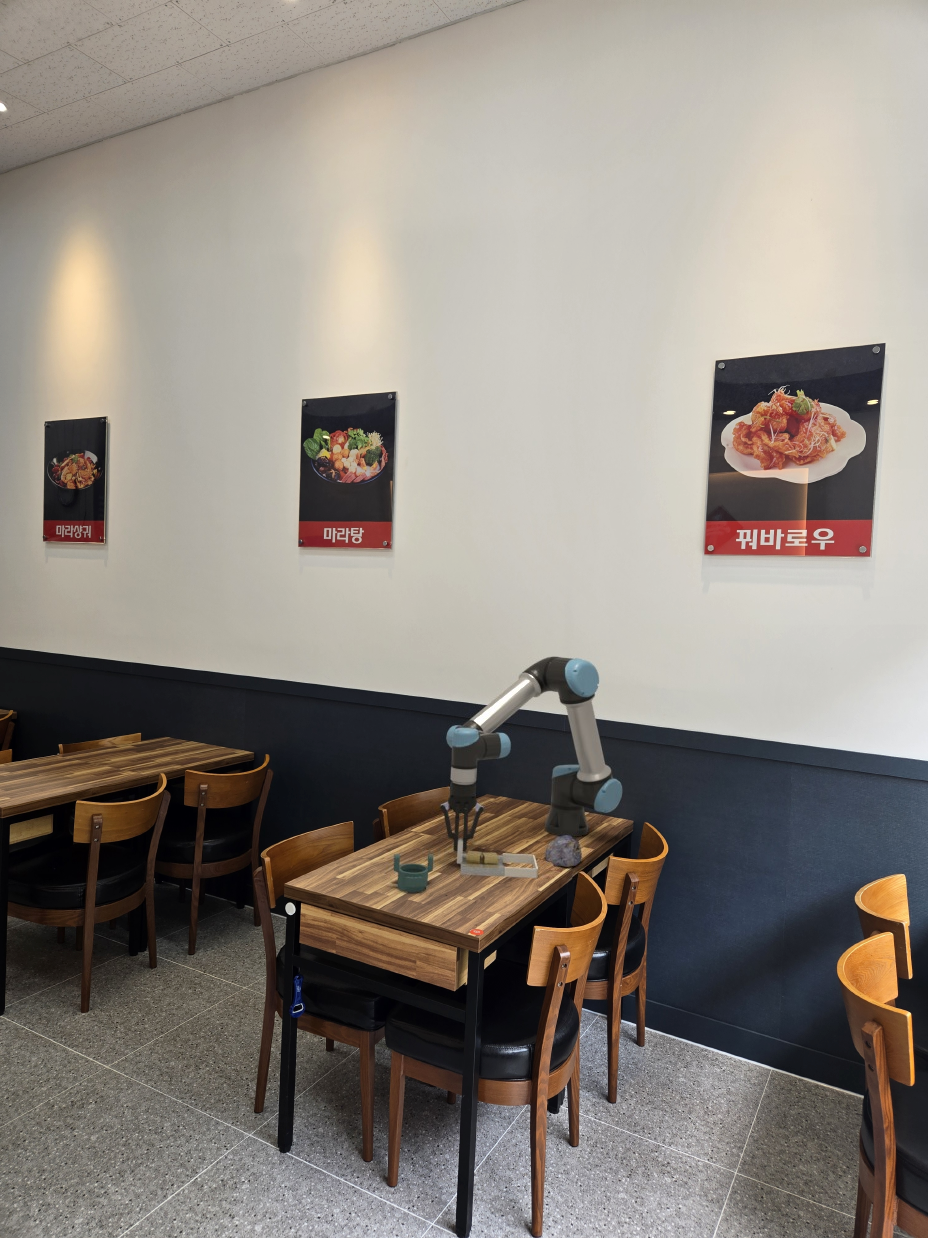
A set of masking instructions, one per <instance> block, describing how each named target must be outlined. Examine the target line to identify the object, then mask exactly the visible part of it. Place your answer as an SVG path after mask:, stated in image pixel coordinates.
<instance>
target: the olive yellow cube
mask: <svg viewBox="0 0 928 1238" xmlns="http://www.w3.org/2000/svg"><path fill="white" fill-rule="evenodd" d="M466 853H467V855H466V864H482V853H483V851H476V850H475V851H474V850H468V851H467V852H466Z"/></svg>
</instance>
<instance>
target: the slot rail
mask: <svg viewBox="0 0 928 1238" xmlns="http://www.w3.org/2000/svg"><path fill="white" fill-rule="evenodd" d="M467 853H468V852H465V853H464V852H463V854H462V864H460V875H462V876H463V875H468V876H487V877H488V876H489V877H504V874H505V867H506V866H505V865H504V862H503V854H497V856H498V865H482V864H466V855H467Z"/></svg>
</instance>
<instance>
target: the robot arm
mask: <svg viewBox="0 0 928 1238" xmlns="http://www.w3.org/2000/svg"><path fill="white" fill-rule="evenodd" d="M599 676H600V675H599V672H598V669H597V668H596V667H595V664H593V663H592V662H590V661H588V660H586V659H581V658H578V657H576V658H571V657H570V658H569V657H561V656H549V657H545V658H543V659H540V660H538V661H536V662H535V663H534V664H531V665H530V666H529V667H527V668H526V669H525V670H524V671H522V672H521V673H519V676H518V679H517V680H516V681H515V682H514V683H512V684H511V685H510V686H508V688H507V689H505V690H504V691H503V692H501V694H499V695H498V696H496V697H495V698H494V699H493V700H491V701H490V703H489V704H487V705H486V706H485V707H483V708H482V709H481V710H479V712H477V713H476V714H475V715H473V717H471V718H470V719H469V720H467V721H466V722H464V724H463V725H461V724H459V725H452V726H451V727H450V728H449V729H448V731H447V733H446V738H445V739H446V742H447V745H448V746H449V747H450V748H451V765H450V766H451V767H450V780H451V782H450V785H449V786H450V788H449V797H448V799H447V801H446V802H444V803H443V802H442V803H441V804H440V809H441V811H442V813H443V817H444V821H445V828H446V831H447V837H448V839H452V840H453V851H454V852H456V853H457V854H456V855H457V856H456V864H459V865H461V864H462V854H463V853H464V852H465V853H467V849H468V841H469V840H472V839H474V836H475V834H476V830H477V827H478V823H479V819H480V817H481V814H482V813H483V812H484V811H485V810H484V809H485V808H484V805H483V804H480V803H478V800H477V797H476V795H477V793H476V792H477V783H476V781H477V775H478V774H477V772H478V771H477V770H478V761H484V760H494V759H496V760H499V759H502V758H505V757H507V756H508V755H509V754H510V752H511V749H512V748H511V746H512V744H511V743H512V742H511V740H510V739H511V738H510V737H509V736H508V734H506V733H504V732H494V731H495V730H496V729H497V728H498V727H500V726H501V725H502V724H503V723H504V722H506V721H507V720H508V719H509V718H510V717H511V716H513V715H515V713H516V712H518V710H520V709H521V708H522V707H523V706H525V705H526V704H527V703H528V702H529V701H530V700H532V699H533V698H538V697H540V696H541V695H542V694H543V693H546V692H554V693H557V695H558V698H559V702H560V704H561V705H563V706H565V708H566V712H567V718H568V722H569V725H570V726H569V727H570V730H571V736H572V740H573V745H574V749H575V753H576V758H577V762H578V764H563V765H562V764H561V765H557V766H555V767H554V768H552V776H551V794H550V796H551V797H550V799H551V800H550V809H549V811H548V814H547V817H546V819H545V822H544V830H545V831H546V832H547V833H550V834H552V835H557V836H563V835H570V836H573V837H583V836H586V835H587V834H588V833H589V823H588V821H587V818H586V813H585V808H587V809H591V810H593V811H596V812H598V813H605V814H606V813H610V812H613V811H614V810H615V809H616V808H617V807H618V805H619V803H620V801H621V799H622V795H623V786H622V783H621V782H620V781H619V780H618V779H617V778H614V777H613V772H612V769H611V766H609V765H607V764H606V762H605V758H604V753H603V750H602V749H603V748H602V744H601V739H600V734H599V730H598V729H599V728H598V726H597V720H596V716H595V711H594V706H593V700H594V699H595V697H596V692H597V691H598V689H599V684H600V677H599ZM493 732H494V733H493ZM450 808H451V810H452V811H453V813H454V815H455V816H454V832H453V830H452V824H451V820H450V814H449V809H450ZM474 809H475V810H474ZM473 810H474V811H475V814H474V817H473V821H472V824H471V828H470V830H469V832H468V829H469V826H468V825H469V814H470V813H471V812H472V811H473ZM461 814H462V815H463V830H462V831H463V833H462V838H459V833H460V831H459V829H460V815H461ZM587 832H588V833H587ZM585 834H586V835H585ZM582 835H583V836H582Z"/></svg>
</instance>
